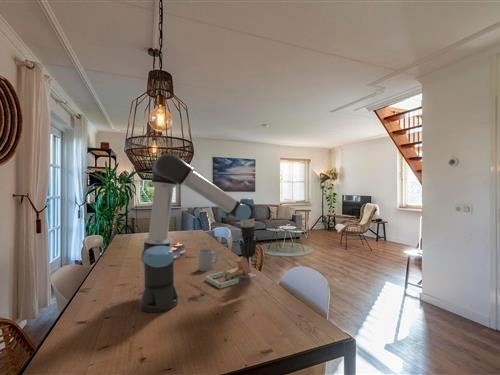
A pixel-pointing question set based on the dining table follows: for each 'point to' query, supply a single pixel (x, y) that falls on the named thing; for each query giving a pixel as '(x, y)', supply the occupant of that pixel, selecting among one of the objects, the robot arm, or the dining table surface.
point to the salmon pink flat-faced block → (243, 265)
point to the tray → (220, 285)
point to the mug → (206, 259)
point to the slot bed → (243, 276)
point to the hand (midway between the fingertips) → (248, 268)
